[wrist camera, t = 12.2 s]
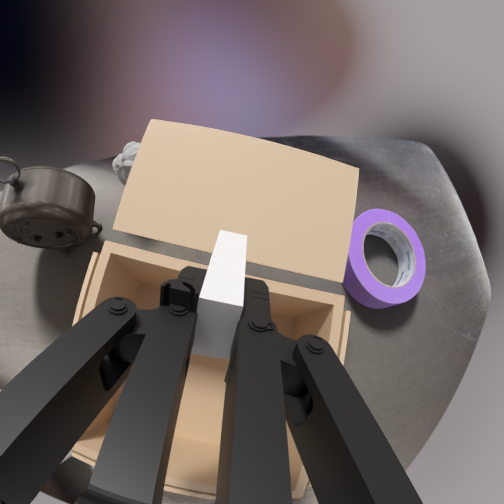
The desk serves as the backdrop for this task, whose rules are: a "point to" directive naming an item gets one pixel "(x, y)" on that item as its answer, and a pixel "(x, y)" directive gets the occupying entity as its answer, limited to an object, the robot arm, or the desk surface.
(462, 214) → the desk surface
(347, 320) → the carton
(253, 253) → the flap
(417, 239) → the masking tape
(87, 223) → the alarm clock
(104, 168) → the desk surface
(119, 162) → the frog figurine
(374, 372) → the desk surface
